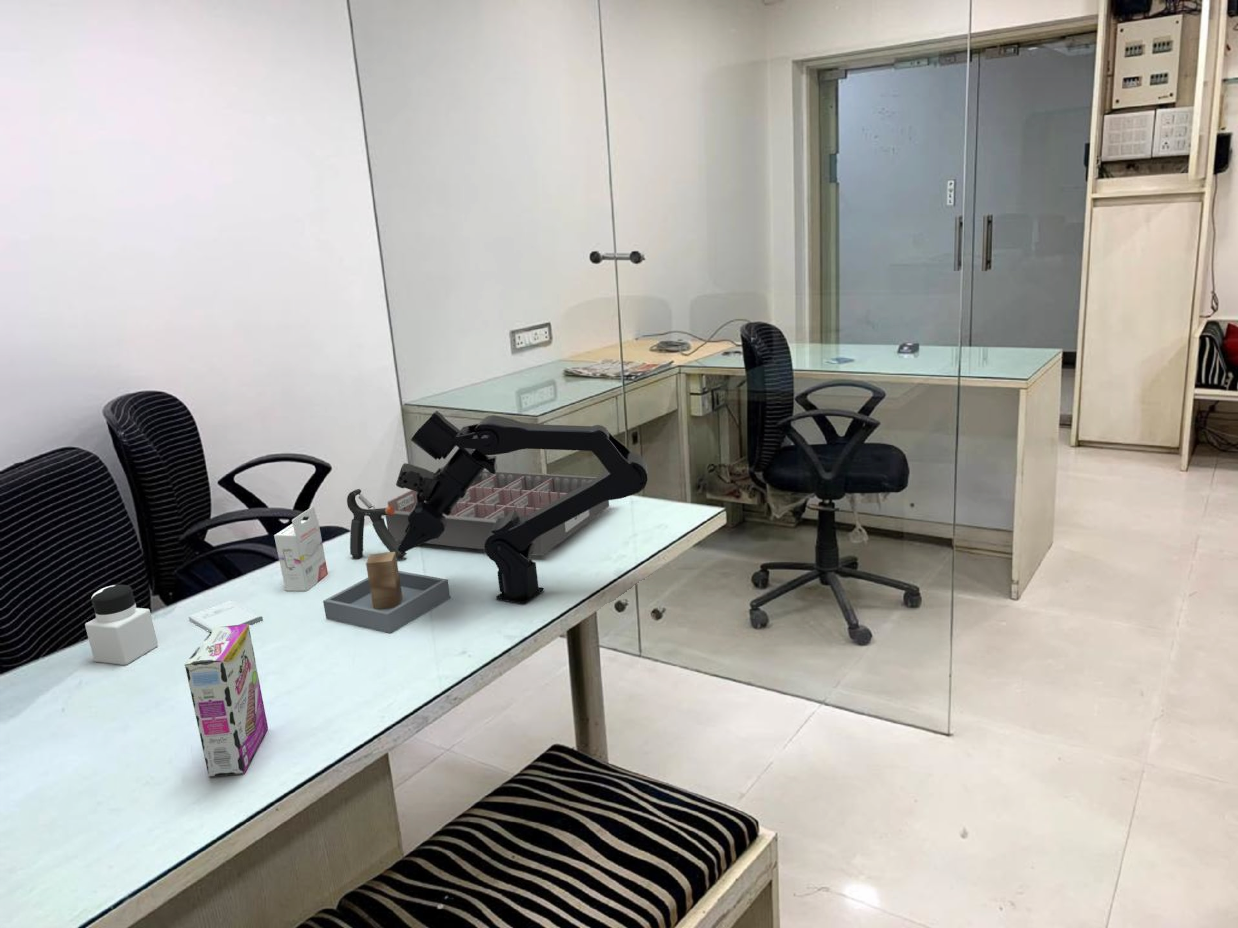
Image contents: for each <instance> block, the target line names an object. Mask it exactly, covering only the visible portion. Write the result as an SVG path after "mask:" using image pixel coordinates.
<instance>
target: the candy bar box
mask: <svg viewBox="0 0 1238 928" xmlns="http://www.w3.org/2000/svg"><path fill="white" fill-rule="evenodd" d="M252 640H253V639H252V637H251V631H250V626H249V625H248V624H244V625H233V626H225V627H215V628H214V629H213V630H212V631H211V633H210V632H209V634H207V636H206V637H205V639H204V640H203V641H202V642H201V643H200V645H199V646H198V647H197V649H195V651H194V652H193V653H192V655H191V656H190V657H189V658H188V660H187V661H185V663H184V668H185V672H186V676H187V677H186V678H187V680H188V681H187V682H188V686H189V690H190V695H191V700H192V705H193V709H194V715H195V719H196V724H197V729H198V733H199V738H200V743H201V747H202V752H203V757H204V762H205V766H206V769H207V776H208V777H209V778H216V777H217V778H218V777H224V776H226V777H227V776H236V775H237V776H238V775H243V774H245V773H246V771H247V769H248V767H249V766H250V763H251V762H252V760H253V758H254V755H255V754H256V752H257V750H258V748H259V746H260V744H261V743H262V740H263V738H264V737H265V735H266V733H267V731H268V729H269V726H268V725H269V724H268V720H267V715H266V709H265V706H264V700H263V699H264V698H263V696H262V695H263V694H262V690H261V684H260V679H259V673H258V668H257V661H256V658H255V652H254V651H255V650H254V646H253V641H252Z"/></svg>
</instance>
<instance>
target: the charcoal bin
mask: <svg viewBox="0 0 1238 928" xmlns="http://www.w3.org/2000/svg"><path fill="white" fill-rule="evenodd" d="M398 571H399V578H400V584H401V591H402V597H403V598H402V601H401V604H400V605H398V606H397V607H395V608H391V609H382V610H377V609H373V603H372V597H371V591H370V585H369V579H368V577H366V578H364V579H363V580H360V581H359V582H356V583H354V584H353V585H351V586H349V587H347V588H345V589H343V590H341V591H339V592H338V593H335V594H333V595H331V596H328V597H327V598H326V599H324V600H323V601H322V603H323V608H324V613H325V619H326V620H330V621H334V622H339V623H344V624H348V625H352V626H357V627H362V628H366V629H370V630H375V631H380V632H384V633H388V634H392V633H393V632H395V631H397V630H399V629H400V628H401V627H403V626H405V625H406V624H408V623H409V622H411V621H413V620H415V619H417V618H418V617H420V616H422V615H423V614H425V613H426V612H428V611H429V610H431V609H433V608H434V607H436V606H438V605H439V604H441V603H443V602H444V601H446V600H448V599H450V598H451V594H450V593H451V591H450V585H449V579H447V578H443V577H441V578H440V577H436V576H430V575H424V574H418V573H413V572H407V571H402V570H398Z"/></svg>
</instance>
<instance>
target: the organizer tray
mask: <svg viewBox="0 0 1238 928" xmlns="http://www.w3.org/2000/svg"><path fill="white" fill-rule="evenodd" d="M597 477H598V476H585V475H584V476H582V475H569V474H567V475H565V474H553V473H551V474H549V473H534V472H518V471H505V470H504V471H503V470H496V472H495V474H492V473H490V472H489V471H488V470H487V469H484V470H483V471H482V472H481V474H480V475H479V476H478V477H477V479H476V480H475V481H474V482H473V483H472V485H471V486H470V487H469V488H468V490H467V491H466V495H465V496H464V497H463V498H460V499H459V500H458V502H457V503H456V504H455V505H454V507H453V508H452V511H451V513H450V514H449V515H448V516H447V515H446V514H443V516H445V519H446V527H445V530H444V532H443V533H442V534H441V535H440V536H439V538H435V539H432V540H429V541H427V542H425V543H424V544H430V545H438V546H439V545H440V546H451V548H452V549H451V550H452V551H453V547H457V548H468V549H469V548H470V549H476V550H478V549H479V550H485V542H486V540H487V538H488V536H489V533H490V531H491V529H492V528H493V526H494V525H495V523H496V521H497V519H498V518H503V517H506V516H507V515H509V514H510V513H511V512H513V511H514V510H516V511H517V514H518V516H524V515H529V514H531V513H533V512H535V511H537V510H539V509H540V508H542V507H544V506H546V505H548V504H550V503H552V502H553V501H555V500H557V499H559V498H561V497H563V496H564V495H566V494H568V493H570V492H572V491H574V490H576V489H577V488H579V487H581V486H583V485H585V484H587V483H589V482H590V481H592V480H594V479H596V478H597ZM417 493H418V492H416V491H413V490H410V489H409V490H408V491H406V492H404V493H402V494H400V495H398V496H396V497H394V498H391V499H390V500H388V501H387V507H394V510H395V512H394V514H393V515H384V517H385V520H386V527H387V529H388V530H389V532H390V533H391V535H392V536H393V538H394V539H395V540H396V541H401V542H402V540H403V538H404V536H405V534H406V533H405V530H406V528H407V526H408V524H409V521H408V515H409V512H410V511H411V510H412V508H413V507H414V506H415V505H416V503H418V502H417ZM608 507H610V500H608V501H604V502H602V503H600V504H598V505H597V506H595V507H593V508H591V509H589V510H587V511H585V512H584V513H582V514H580V515H578V516H576V517H574V518H572V519H570V520H569V521H567V522H565V523H563V524H561V525H559V526H557V527H555V528H554V529H552V530H550V531H548V532H546V533H544V534H542V535H541V536H539V537H537V538H536V539H535V540H534V541H533V542H532V543H534V549H533V553H532V556H533V555H534V556H535V555H537V556H544V555H545V554H547V553H548V552H549V551H551V550H552V549H553V548H555V547H556V546H557V545H559V544H560V543H561V542H563V541H564V540H565V539H568V538H569V536H571V535H572V534H574V533H576V531H578V530H579V529H580V528H582V527H583V526H584V525H586V524H587V523H589V522H590V521H591V520H593V519H595V517H597V516H598V515H599V514H601V513H602V512H604V511H605V510H606V509H608Z"/></svg>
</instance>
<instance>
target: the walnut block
mask: <svg viewBox="0 0 1238 928" xmlns="http://www.w3.org/2000/svg"><path fill="white" fill-rule="evenodd" d="M365 566H366V571H367V573H366V574H367V578H368V579H369V585H370V591H371V597H372V603H373V609H377V610H382V609H391V608H395V607H397V606H398V605H400V604H401V601H402V598H403V597H402V591H401V584H400V578H399V571H400V570H399V566H398V558H396V552H390V551H387V552H382V553H381V552H379V553H371V554H370V555H369V556H368V559H367V561H366V562H365Z"/></svg>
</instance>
